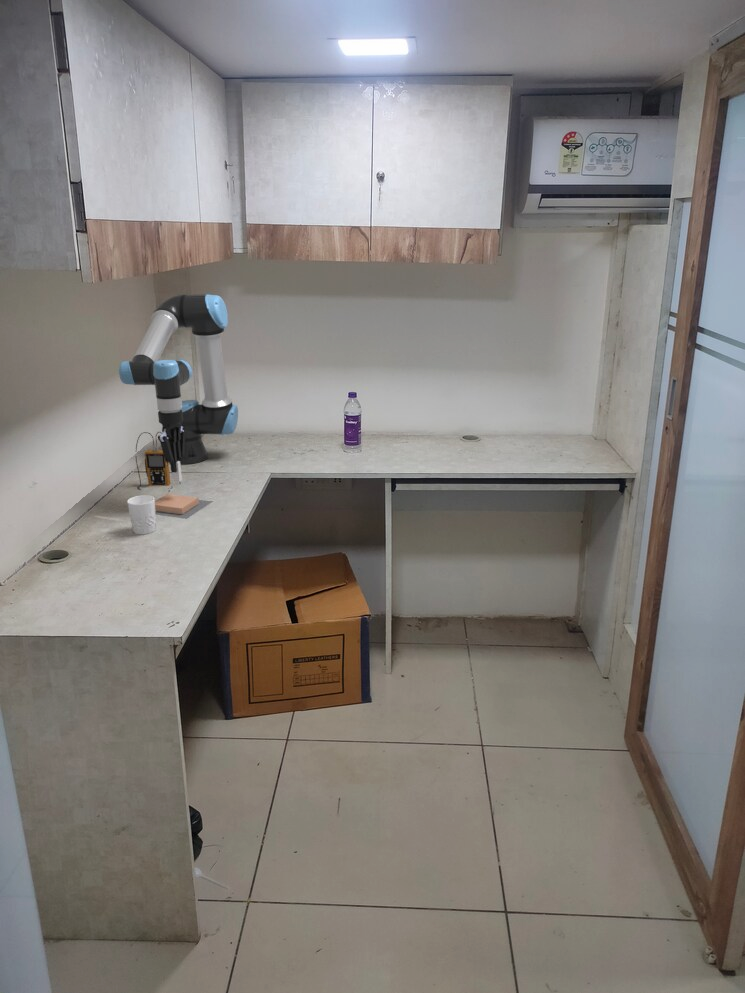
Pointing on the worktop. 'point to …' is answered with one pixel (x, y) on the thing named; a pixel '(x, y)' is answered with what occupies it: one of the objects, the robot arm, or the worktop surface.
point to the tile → (175, 504)
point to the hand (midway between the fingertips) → (177, 480)
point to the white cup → (142, 514)
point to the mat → (188, 513)
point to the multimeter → (156, 467)
